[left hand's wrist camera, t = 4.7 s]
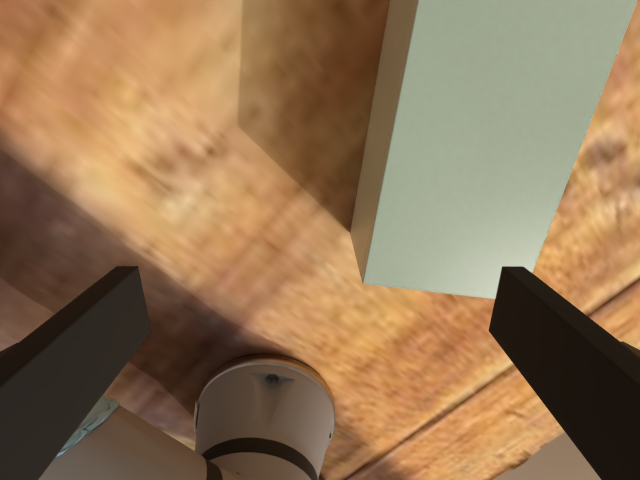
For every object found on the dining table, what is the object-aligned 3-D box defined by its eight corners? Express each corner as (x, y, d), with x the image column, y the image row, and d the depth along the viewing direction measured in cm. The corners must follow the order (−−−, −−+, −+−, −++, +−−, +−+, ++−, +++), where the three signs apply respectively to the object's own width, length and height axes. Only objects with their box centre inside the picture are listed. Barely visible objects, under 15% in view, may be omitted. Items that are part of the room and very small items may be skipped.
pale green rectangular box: (390, -6, 25) (432, -72, 16) (532, 16, 26) (652, -36, 17) (349, 233, 32) (362, 284, 23) (463, 247, 33) (521, 302, 23)
